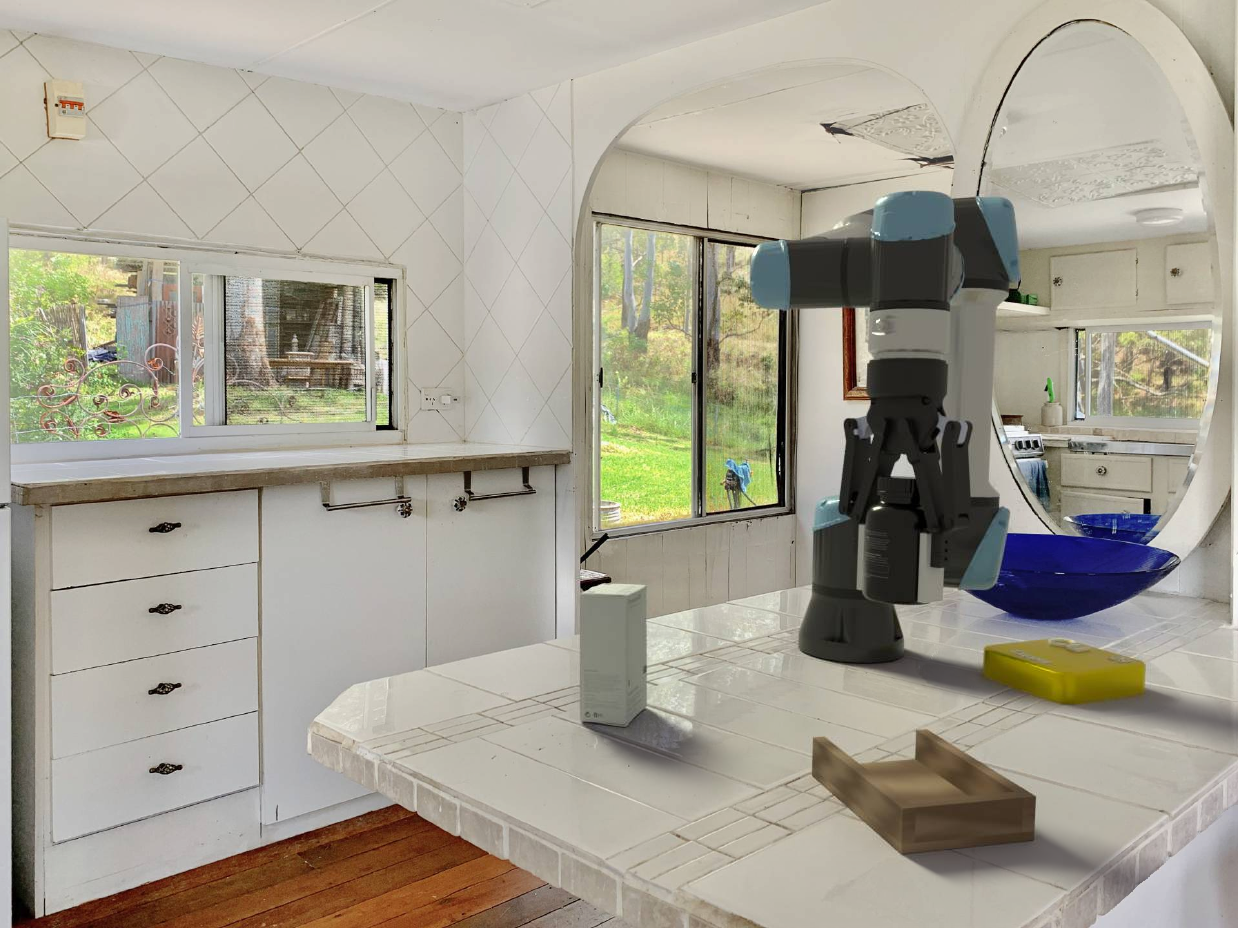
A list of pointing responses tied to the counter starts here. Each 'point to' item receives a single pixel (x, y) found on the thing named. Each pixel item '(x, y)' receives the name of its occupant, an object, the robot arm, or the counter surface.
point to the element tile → (1064, 671)
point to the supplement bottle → (893, 542)
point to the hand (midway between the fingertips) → (898, 594)
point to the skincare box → (613, 653)
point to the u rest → (928, 796)
